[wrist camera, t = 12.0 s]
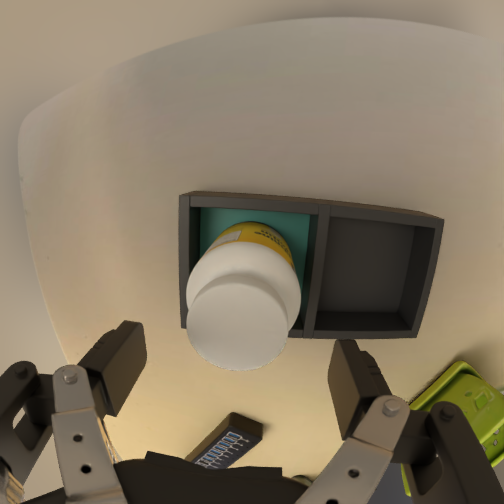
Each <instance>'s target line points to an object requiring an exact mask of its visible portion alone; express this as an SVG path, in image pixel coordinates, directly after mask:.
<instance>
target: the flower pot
mask: <svg viewBox="0 0 504 504" xmlns="http://www.w3.org/2000/svg"><path fill="white" fill-rule="evenodd" d="M440 401H448V402H452V403H454V404H456V405H457V406H459V407H460V408H461V410H462V411H463V413H464V415H465V417H466V418H467V420H468V422H469V424H470V426H471V427H472V429H473V431H474V433H475V435H476V436H477V438H478V440H479V442H480V444H483V446H484V447H485V448H486V451H485V454H486V456H487V458H488V460H489V462H490V464H491V466H492V468H493V467H494V466H496V465H497V464H498V463H499V462H500V461H501V460H502V459H503V458H504V395H503V394H501V393H500V392H499V391H498V390H496V389H495V388H494V387H492V386H491V385H490V384H488V383H487V382H486V381H485V380H484V379H483V378H482V377H481V375H480V374H479V373H478V372H477V371H476V370H475V369H474V368H473V367H471V366H470V365H469V364H468V363H466V362H465V361H458V362H455V363H454V364H453V365H452V366H451V367H450V368H449V369H448V370H447V371H446V372H445V373H444V374H443V375H442V376H441V377H440V378H439V379H438V380H436V381H435V382H434V383H433V384H432V385H431V386H430V387H429V388H428V389H427V390H426V391H425V392H424V393H423V394H422V395H420V396H419V397H418V398H417V399H416V400H415V401H414V402H413V403H411V404H410V405H409V408H410V409H412V410H420V411H430V409H431V408H432V406H433V405H434V404H435V403H437V402H440ZM497 429H499V433H498V434H494V432H495V431H496V430H497ZM495 440H496V441H497V444H496V445H494V441H495ZM401 470H402V477H403V482H404V488H405V492H406V494H407V495H408V496H411V494H410V490H409V486H408V482H407V479H406V475H405V472H404V468H403V465H402V464H401Z"/></svg>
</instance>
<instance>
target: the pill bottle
mask: <svg viewBox="0 0 504 504" xmlns="http://www.w3.org/2000/svg"><path fill="white" fill-rule="evenodd" d="M186 299H187V306H188V310H189V311H188V315H187V321H186V327H187V334H188V337H189V339H190V342H191V344H192V346H193V347H194V349H195V350H196V351H197V353H198V354H199V355H200V356H201V357H203V358H204V359H205V360H206V361H208V362H210V363H211V364H213V365H215V366H217V367H220V368H223V369H227V370H232V371H249V370H254V369H257V368H260V367H263V366H265V365H267V364H268V363H270V362H271V361H273V360H274V359H275V358H276V357H277V356H278V355H279V354H280V353H281V351H282V350H283V348H284V346H285V344H286V341H287V338H288V331H289V330H290V329H291V328H292V326H293V325H294V323H295V321H296V319H297V316H298V313H299V310H300V304H301V292H300V286H299V282H298V278H297V275H296V271H295V267H294V264H293V260H292V256H291V252H290V249H289V247H288V244H287V242H286V241H285V239H284V238H283V236H282V235H281V234H280V233H279V232H278V231H277V230H275V229H274V228H272V227H271V226H269V225H267V224H264V223H261V222H256V221H245V222H240V223H237V224H234V225H232V226H230V227H228V228H227V229H225V230H224V231H223V232H222V233H221V234H220V235H219V236H218V237H217V239H216V240H215V241H214V242H213V244H212V245H211V246H210V247H209V249H208V250H207V251H206V252H205V254H204V255H203V256H202V257H201V259H200V260H199V261H198V263H197V264H196V266H195V267H194V269H193V271H192V272H191V275H190V277H189V280H188V284H187V290H186Z"/></svg>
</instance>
